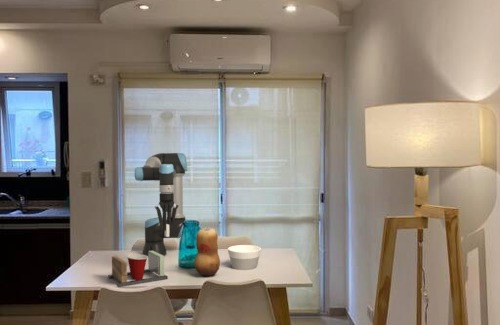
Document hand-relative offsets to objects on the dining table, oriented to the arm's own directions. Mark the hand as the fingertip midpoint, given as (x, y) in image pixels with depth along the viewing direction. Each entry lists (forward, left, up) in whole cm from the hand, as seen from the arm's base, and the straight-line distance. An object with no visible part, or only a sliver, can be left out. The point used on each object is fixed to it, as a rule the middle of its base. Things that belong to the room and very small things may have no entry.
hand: (166, 236), depth 254 cm
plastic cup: (+16, 0, -21) cm, 26 cm away
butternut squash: (-17, +15, -21) cm, 30 cm away
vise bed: (+16, 0, -20) cm, 26 cm away
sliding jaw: (+6, 0, -19) cm, 20 cm away
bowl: (-43, +11, -21) cm, 48 cm away
